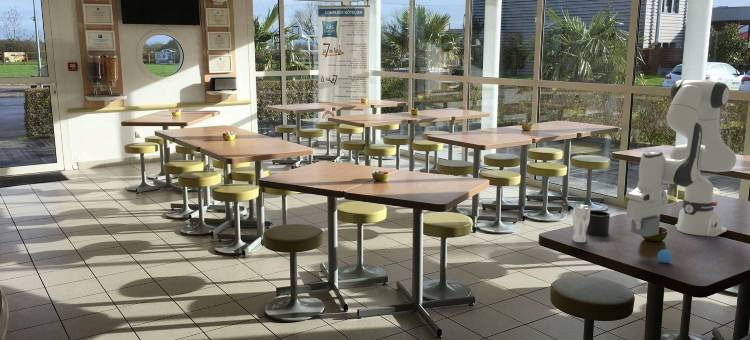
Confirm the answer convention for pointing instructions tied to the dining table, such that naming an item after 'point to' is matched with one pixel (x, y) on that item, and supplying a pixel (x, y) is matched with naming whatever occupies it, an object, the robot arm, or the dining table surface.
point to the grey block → (647, 226)
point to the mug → (598, 223)
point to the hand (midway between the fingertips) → (646, 227)
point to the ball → (664, 256)
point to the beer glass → (580, 223)
